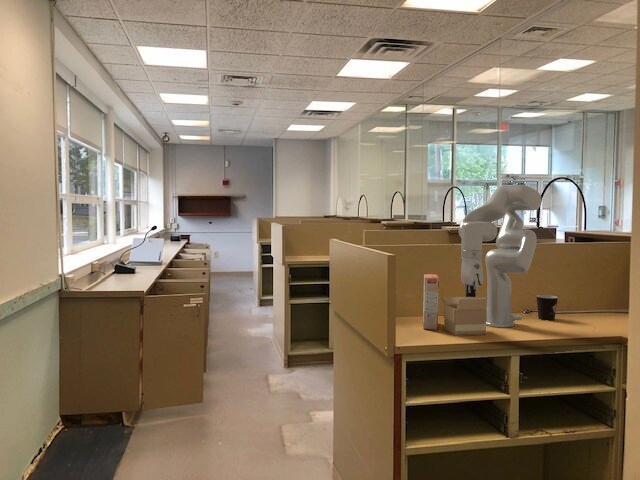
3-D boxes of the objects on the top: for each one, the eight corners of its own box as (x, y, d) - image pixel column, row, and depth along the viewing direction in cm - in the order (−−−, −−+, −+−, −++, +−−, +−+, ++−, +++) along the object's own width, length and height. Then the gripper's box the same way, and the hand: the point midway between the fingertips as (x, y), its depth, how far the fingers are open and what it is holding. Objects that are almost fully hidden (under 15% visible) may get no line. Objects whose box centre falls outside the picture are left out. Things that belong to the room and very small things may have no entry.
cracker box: (438, 330, 194) (439, 277, 193) (423, 329, 195) (423, 277, 194) (437, 323, 207) (438, 273, 206) (422, 322, 209) (423, 273, 208)
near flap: (457, 308, 184) (457, 309, 184) (458, 297, 183) (459, 297, 182) (485, 308, 186) (486, 308, 185) (487, 296, 184) (487, 297, 184)
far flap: (472, 303, 197) (471, 304, 197) (467, 296, 201) (467, 298, 202) (445, 304, 196) (445, 305, 196) (441, 297, 200) (441, 298, 200)
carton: (474, 328, 197) (474, 303, 197) (487, 335, 186) (487, 308, 186) (443, 329, 196) (443, 304, 195) (454, 335, 185) (454, 309, 184)
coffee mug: (544, 321, 211) (545, 298, 211) (531, 317, 219) (532, 295, 219) (567, 320, 214) (568, 297, 213) (553, 316, 222) (554, 294, 222)
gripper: (490, 256, 178) (489, 306, 179) (472, 253, 193) (471, 299, 193) (470, 256, 177) (469, 306, 178) (454, 253, 192) (453, 300, 192)
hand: (470, 303), depth 185 cm, fingers closed
